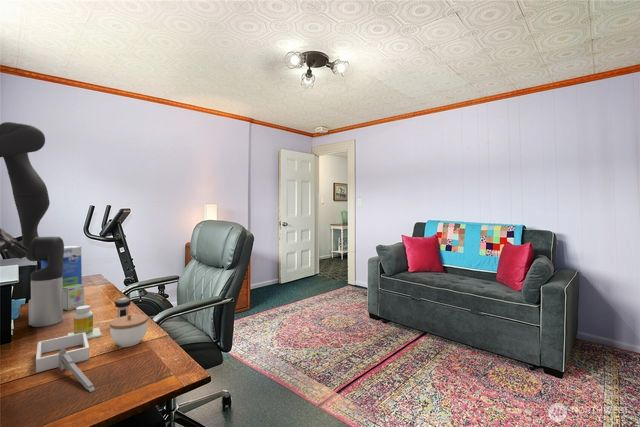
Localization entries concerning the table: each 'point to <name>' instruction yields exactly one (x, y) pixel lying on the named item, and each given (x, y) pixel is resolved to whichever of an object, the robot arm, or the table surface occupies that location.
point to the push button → (122, 306)
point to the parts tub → (56, 344)
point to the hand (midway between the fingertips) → (25, 254)
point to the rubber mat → (95, 334)
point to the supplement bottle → (83, 320)
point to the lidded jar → (128, 329)
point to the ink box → (72, 294)
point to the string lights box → (70, 263)
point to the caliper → (73, 369)
